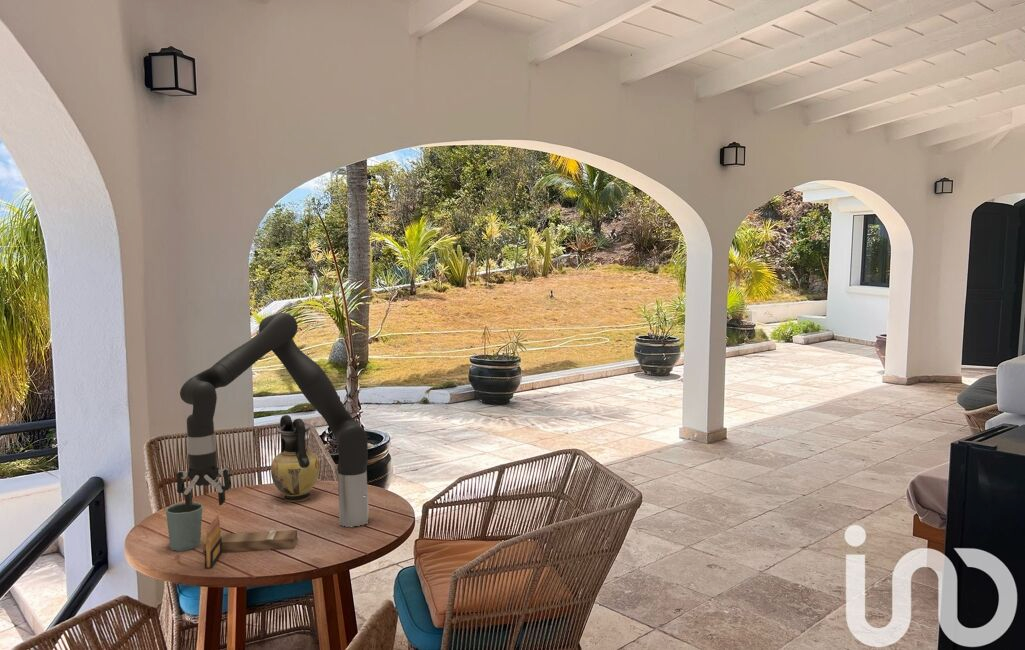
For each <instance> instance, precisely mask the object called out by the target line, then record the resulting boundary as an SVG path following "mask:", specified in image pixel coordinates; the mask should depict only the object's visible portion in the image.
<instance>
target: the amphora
mask: <svg viewBox="0 0 1025 650" xmlns="http://www.w3.org/2000/svg"><path fill="white" fill-rule="evenodd" d="M279 421H280V422H279V427H278V428H277V429H276V432H277V433H278V434H280V443H281V445H280V446H281V448H280V450H281V451H280V453H278V454H277V455H276V456H275V457H274V458H273V459H272V462H271V465H270V474H271V475H270V476H271V480H272V482H273V484H274V485H275V487H276V489H278V491H280V493H282V494H283V495H284V496H283V499H284V501H285V502H293V503H295V502H302V501H305V500H308V499H309V498H310V497H311V493H310V492H311V490H312V489H313V488H314V486H315V485H316V483H317V481H318V479H319V476H320V465H321V464H320V460H319V457H318V455H317V454H316V453H314V452H313V451H311V450H309V449H306V448H307V447H306V434H307V432H308V431H309V430H310V429H311V426H310V425H307V424H305V422H304V420H303V419H301V418H295V419H294V420H293V421H292V417H291V415H288V414H285V415H282V416H281V417H280V420H279Z"/></svg>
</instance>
